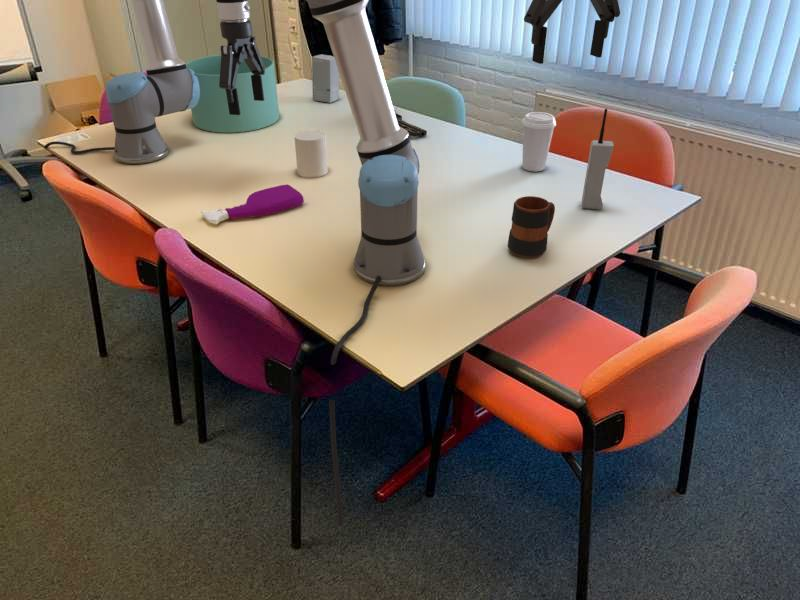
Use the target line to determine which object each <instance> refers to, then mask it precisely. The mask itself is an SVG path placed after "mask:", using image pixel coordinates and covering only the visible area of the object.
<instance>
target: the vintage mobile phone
mask: <svg viewBox="0 0 800 600" xmlns="http://www.w3.org/2000/svg"><path fill="white" fill-rule="evenodd" d="M607 115H608V108H604V111H603V116H602V117H603V118H602V123H601V127H600V131H599V137H598V139H593V140H591V143H590V149H589V154H588V160H587V165H586V173H585V178H584V183H583V190H582V195H581V196H582V197H581V208H582V209H586V210H587V209H589V210H599V211H600V210H603V207H604V205H603V204H604V203H603V199H602V196H601V195H602V190H603V185H604V179H605V174H606V169H607V168H608V167H609V166H610V165H609V164H610V161H611V158H612V155H613V151H614V146H615V145H614V141H613V140H604V134H605V126H606V120H607Z"/></svg>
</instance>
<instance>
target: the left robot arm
mask: <svg viewBox="0 0 800 600" xmlns="http://www.w3.org/2000/svg"><path fill="white" fill-rule="evenodd" d="M130 1H131V4H132V8H133V12H134V15H135V19H136V22H137V25H138V28H139V32H140V36H141V39H142V42H143V46H144V50H145V52H146V57H147V60H148V64H147V66H146V68H145V72H146V73H143V72H139V71H133V72H126V73H122V74H119V75H116V76H113V77H111V78H110V79H108V80H107V82H106V83H105V86H104V88H105V95H106V101H107V104H108V107H109V111H110V115H111V120H112V124H113V128H114V131H115V138H114V146H107V147H94V148H88V149H83V150H82V149H81V150H76V145H75V144H73V143H69V142H66V141H65V142H64V141H50V142H48V143H46V144H45V145H44V146H43V149H48V148H49V147H50V146H52V145H53V146H54V145H60V146H67V147H70V148H71V149H70V153H72V154H75V155H80V154H81V155H82V154H86V153H90V152H98V151H113V155H114V157H115V160H116V161H117V162H118V163H121V164H125V165H142V164H149V163H155V162H157V161H160V160H162V159H164V158H165V157H167V156H168V154H169V149H168V146H167V144H166V142H165V141H164V139H163V137H162V135H161V133H160V131H159V130H158V126H157V122H156V118H159V117H163V116H167V115H171V114H175V113H179V112H186V111H187V110H191V108H193V107H195V106H196V105H197V103H198V100H199V97H200V87H199V82H198V79H197V76H195V73H194V71H193V70H191V69H189V68H187V67H186V63H187V62H185V61H184V60H182V59H181V58H180V57H179V54H178V50H177V47H176V43H175V40H174V36H173V31H172V28H171V25H170V24H171V23H170V21H169V17H168V13H167V10H166V5H165V2H164V0H130ZM215 1H216V7H217V15H218V19H219V20H221V21H220V22H219V26H220V27H219V28H220V33H221V37H222V38H223V39H225V40H226V41H227V45H220V55H221V67H220V81H219V87H220V88H222V89H225V90H226V95H227V101H228V107H229V114H230V115H240V107H239V100H238V94H237V88H234V87H235V82H236V78H237V73H238V68H239V64H241V62H242V61H243V60H244V61H245V63H246V64H247V66H248V67H249V69H250V71H251V72H252V74H254V75H251V81H252V89H253V96H254V100H257V101H264V93H263V86H262V78H261V75H264V74H265V71H264V70H265V66H264V64H263V61H262V58H261V56H262V55H261V53H260V51H259V48H258V45H257V41H256V36H255V35H253V27H252V25H253V24H252V21H251V20H250V18H251V13H250V9H251V7H250V3H249V0H215ZM227 55H228V56H227ZM259 65H260V66H259ZM146 75H147V76H146Z"/></svg>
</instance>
